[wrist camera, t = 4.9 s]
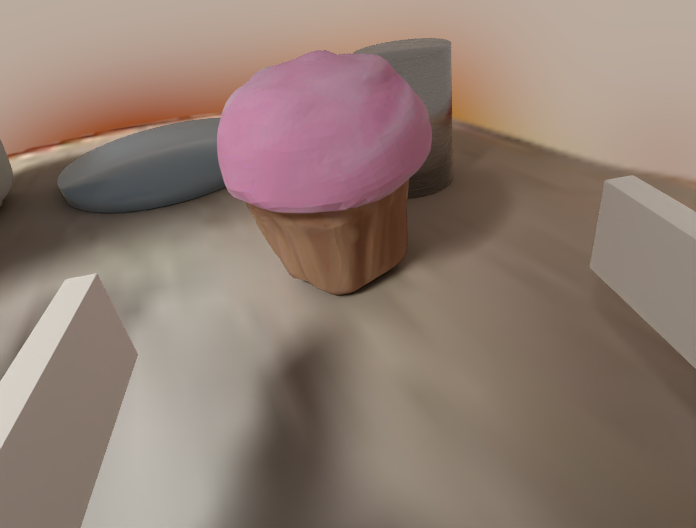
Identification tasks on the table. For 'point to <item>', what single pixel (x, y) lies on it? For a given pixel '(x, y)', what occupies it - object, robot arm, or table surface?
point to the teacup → (5, 174)
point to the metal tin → (426, 102)
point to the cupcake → (326, 163)
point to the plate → (146, 169)
